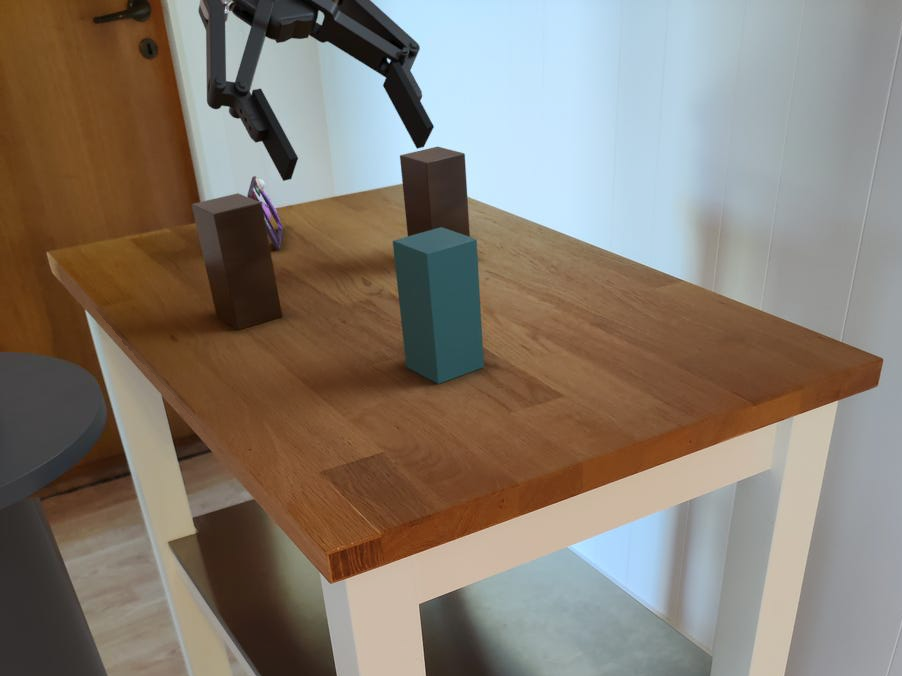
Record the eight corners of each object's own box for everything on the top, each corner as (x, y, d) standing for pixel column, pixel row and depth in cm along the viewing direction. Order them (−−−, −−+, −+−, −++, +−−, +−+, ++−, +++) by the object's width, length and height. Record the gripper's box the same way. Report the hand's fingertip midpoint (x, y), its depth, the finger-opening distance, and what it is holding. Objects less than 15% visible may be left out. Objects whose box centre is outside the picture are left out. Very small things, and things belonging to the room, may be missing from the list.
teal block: (438, 384, 85) (426, 253, 79) (406, 367, 89) (392, 240, 82) (484, 367, 88) (476, 239, 81) (451, 351, 91) (441, 226, 84)
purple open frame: (255, 191, 114) (260, 172, 121) (215, 211, 114) (223, 191, 121) (285, 246, 118) (288, 225, 125) (246, 265, 118) (251, 243, 125)
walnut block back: (435, 270, 109) (426, 162, 102) (409, 260, 112) (399, 155, 105) (471, 259, 111) (465, 153, 104) (445, 250, 114) (437, 146, 108)
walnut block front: (238, 330, 98) (213, 214, 91) (216, 317, 101) (190, 203, 95) (282, 316, 100) (261, 202, 94) (260, 304, 104) (238, 192, 97)
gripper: (355, -43, 94) (461, 152, 94) (103, -9, 83) (221, 212, 83) (378, -114, 87) (492, 96, 87) (107, -88, 76) (236, 153, 76)
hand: (360, 153), depth 85 cm, fingers open, 13 cm apart
